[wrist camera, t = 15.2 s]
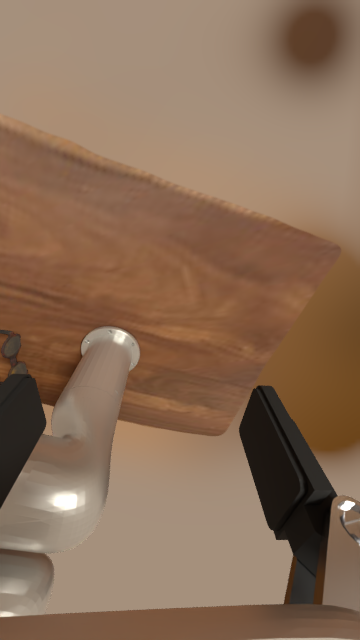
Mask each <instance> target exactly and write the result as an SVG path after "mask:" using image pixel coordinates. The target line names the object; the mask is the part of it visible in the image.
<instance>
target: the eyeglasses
mask: <svg viewBox="0 0 360 640" xmlns="http://www.w3.org/2000/svg"><path fill="white" fill-rule="evenodd" d="M0 333H2V334H9V336H8V338H7V339H6V341H5V342H4V344H3V346H2V350H1V353H2V356H3V357H5V358H10V363H11V369H10V372H9V374H8V377H9V376H10V375H11V374H27V373H28V370H27V369H26V366H25V365H26V364H25V362H17V360H16V354H17V353H18V351H19V349H20V347H21V343H20V338H21V337H20V335H19V334H14V333H13V332H11V331H6V330H0ZM2 383H3V382H0V385H1V384H2Z"/></svg>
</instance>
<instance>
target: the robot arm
mask: <svg viewBox="0 0 360 640" xmlns="http://www.w3.org/2000/svg"><path fill="white" fill-rule="evenodd" d="M81 353H82V356H83V357H82V359H81V360H80V362H79V364H78V366H77V367H76V369H75V371H74V373H73V374H72V376H71V378H70V380H69V381H68V383H67V385H66V387H65V388H64V390H63V392H62V394H61V395H60V397H59V399H58V401H57V402H56V404H55V406H54V409H53V413H52V420H51V425H52V433H53V436H49V435H45V434H42V433H43V431H44V429H45V427H46V418H45V414H44V411H43V407H42V403H41V399H40V396H39V392H38V388H37V385H36V381H35V379H34V378H32V377H31V375H30V374H11V375H10V376H9V377H8V378H7V379H6V380H5V381H4V382H3V383H2V384H1V385H0V640H360V502H359V501H357V500H355V499H353V498H351V497H348V496H344V495H342V496H337V494H336V492H335V491H334V489H333V487H332V485H331V484H330V482H329V480H328V479H327V477H326V475H325V473H324V472H323V470H322V468H321V467H320V465H319V463H318V461H317V460H316V458H315V456H314V455H313V453H312V451H311V449H310V448H309V446H308V444H307V443H306V441H305V439H304V437H303V436H302V434H301V432H300V430H299V429H298V427H297V425H296V424H295V422H294V421H293V420H292V419H291V418H290V416H289V414H288V413H287V411H286V409H285V407H284V406H283V404H282V402H281V400H280V399H279V397H278V395H277V393H276V392H275V390H274V388H273V387H272V386H257V388H256V389H253V391H252V394H251V397H250V400H249V402H248V405H247V408H246V410H245V413H244V416H243V419H242V421H241V424H240V428H239V433H240V437H241V440H242V443H243V447H244V450H245V453H246V457H247V460H248V463H249V466H250V469H251V473H252V476H253V479H254V482H255V486H256V489H257V491H258V495H259V498H260V502H261V505H262V508H263V511H264V515H265V518H266V521H267V524H268V526H269V528H270V529H271V530H273V531H274V534H275V537H276V540H288V541H289V544H290V546H291V549H292V552H293V558H292V564H291V569H290V574H289V579H288V584H287V589H286V594H285V600H284V604H279V605H278V604H276V605H241V606H219V607H218V606H217V607H193V608H170V609H149V610H128V611H107V612H86V613H66V614H47V615H45V612H46V609H47V606H48V603H49V600H50V597H51V593H52V588H53V583H54V566H53V563H52V560H51V559H50V558H49V556H47V555H46V554H45V553H58V552H63V551H67V550H70V549H73V548H74V547H77V546H78V545H80V544H81V543H83V542H84V541H85V540H86V539H87V538H88V537H89V536H90V535H91V533H92V532H93V531H94V529H95V528H96V526H97V525H98V523H99V521H100V518H101V516H102V513H103V511H104V507H105V504H106V499H107V494H108V487H109V477H110V460H111V450H112V442H113V437H114V431H115V427H116V423H117V418H118V414H119V410H120V406H121V402H122V398H123V394H124V390H125V385H126V381H127V377H128V373H129V371H130V370H132V369H133V368H134V367H135V366H136V364H137V363H138V361H139V357H140V348H139V345H138V342H137V341H136V339H135V338H134V337H133V336H132V335H131V334H130V333H128V332H127V331H125V330H123V329H120V328H117V327H111V326H105V327H99V328H96V329H94V330H92V331H91V332H89V333H88V334H87V335H86V337H85V338H84V340H83V342H82V344H81Z"/></svg>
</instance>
